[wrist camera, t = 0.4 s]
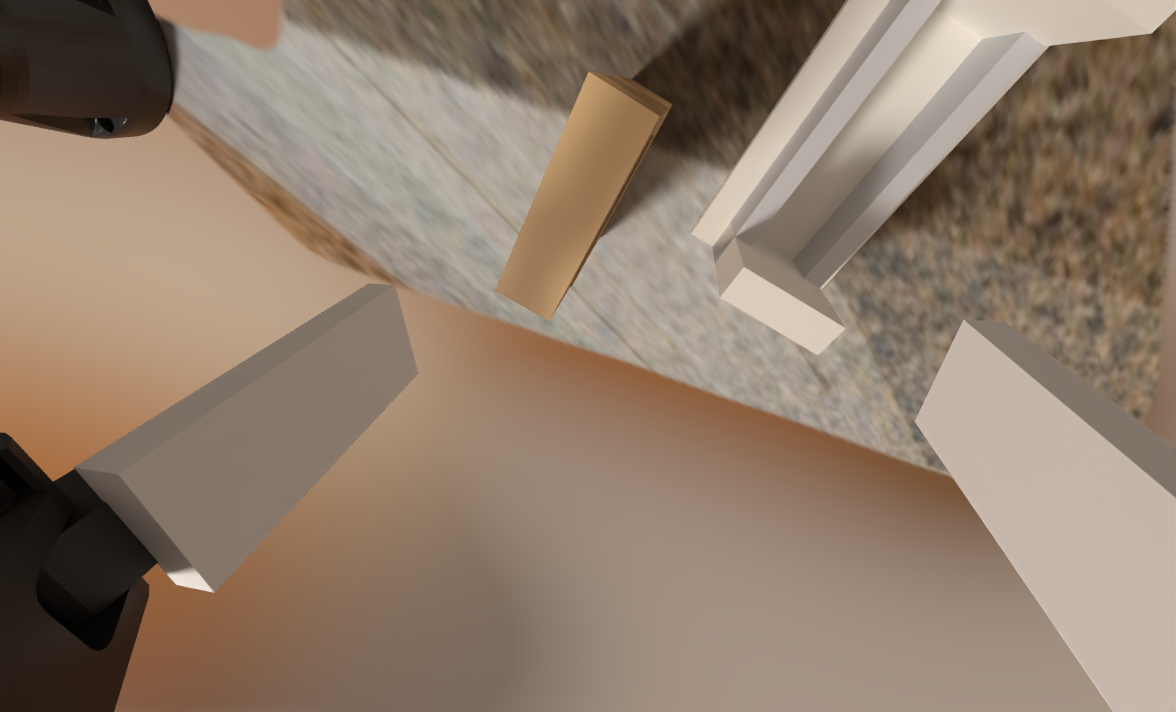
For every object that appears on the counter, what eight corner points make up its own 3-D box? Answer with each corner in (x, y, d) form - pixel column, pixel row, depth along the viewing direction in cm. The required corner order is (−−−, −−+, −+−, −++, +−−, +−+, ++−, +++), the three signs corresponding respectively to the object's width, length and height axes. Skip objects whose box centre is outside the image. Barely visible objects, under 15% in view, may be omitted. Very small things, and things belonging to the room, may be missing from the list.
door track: (691, 230, 32) (691, 280, 23) (900, -82, 22) (1028, -184, 14) (805, 299, 32) (844, 371, 24) (1055, 29, 23) (1260, -4, 15)
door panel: (563, 217, 33) (493, 289, 21) (630, 78, 28) (586, 69, 16) (599, 239, 33) (551, 321, 21) (673, 105, 28) (662, 117, 16)
